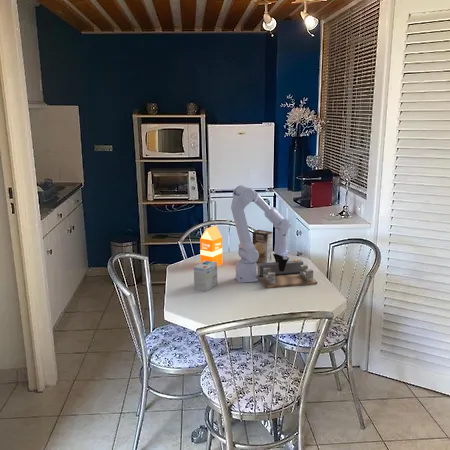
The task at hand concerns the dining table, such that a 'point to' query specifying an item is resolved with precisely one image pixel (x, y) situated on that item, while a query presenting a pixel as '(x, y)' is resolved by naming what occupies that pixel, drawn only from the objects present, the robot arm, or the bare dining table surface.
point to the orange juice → (211, 245)
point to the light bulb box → (205, 275)
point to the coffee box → (263, 245)
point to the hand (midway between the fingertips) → (280, 269)
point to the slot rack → (287, 278)
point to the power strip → (289, 268)
